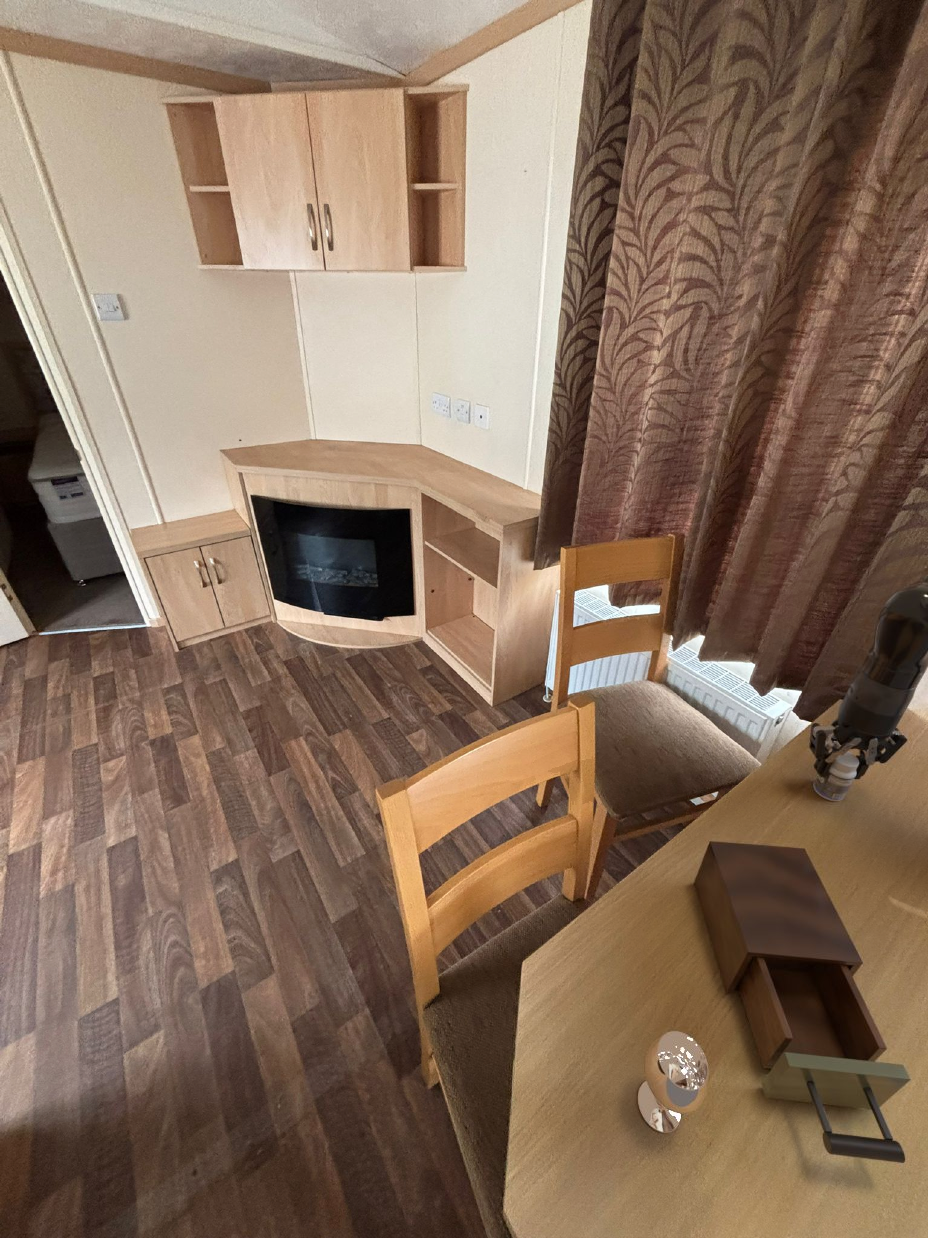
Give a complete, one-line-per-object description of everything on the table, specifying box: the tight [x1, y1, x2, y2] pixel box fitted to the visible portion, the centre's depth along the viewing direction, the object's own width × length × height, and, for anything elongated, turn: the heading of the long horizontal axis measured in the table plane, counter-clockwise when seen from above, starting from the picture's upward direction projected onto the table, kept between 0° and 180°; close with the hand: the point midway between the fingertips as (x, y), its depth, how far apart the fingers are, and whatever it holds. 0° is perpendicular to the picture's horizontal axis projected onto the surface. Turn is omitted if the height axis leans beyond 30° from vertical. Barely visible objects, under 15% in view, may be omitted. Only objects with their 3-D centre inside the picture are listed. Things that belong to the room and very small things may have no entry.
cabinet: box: [693, 840, 864, 996], centre depth 69 cm, size 15×13×10 cm
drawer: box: [738, 956, 911, 1164], centre depth 57 cm, size 19×11×8 cm, turn 175°
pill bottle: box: [812, 751, 859, 802], centre depth 90 cm, size 5×5×8 cm
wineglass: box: [637, 1030, 710, 1134], centre depth 54 cm, size 6×6×12 cm
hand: (836, 774), depth 90 cm, fingers closed on pill bottle, 5 cm apart
